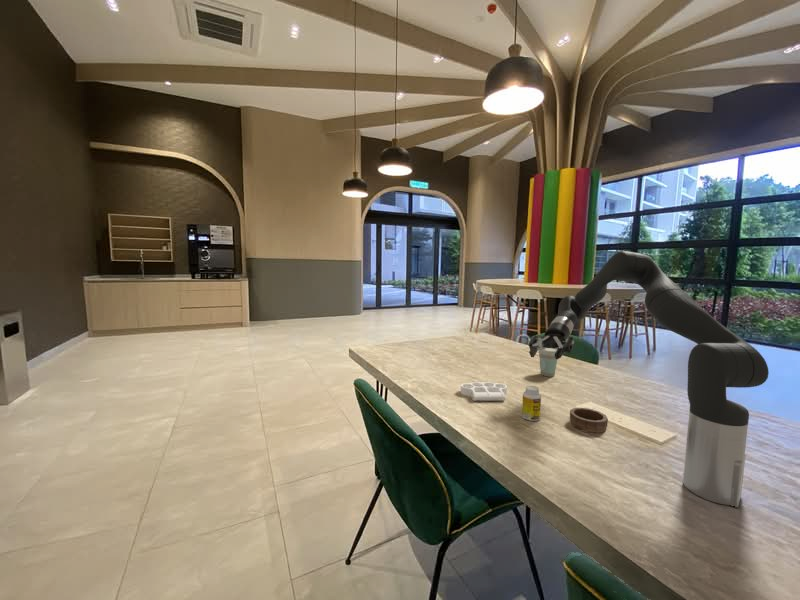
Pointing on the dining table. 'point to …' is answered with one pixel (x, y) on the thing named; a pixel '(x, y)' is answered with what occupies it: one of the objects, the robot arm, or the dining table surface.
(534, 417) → the supplement bottle
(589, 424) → the brown wooden bowl
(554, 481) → the dining table surface
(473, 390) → the white brass knuckles
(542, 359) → the coffee cup
